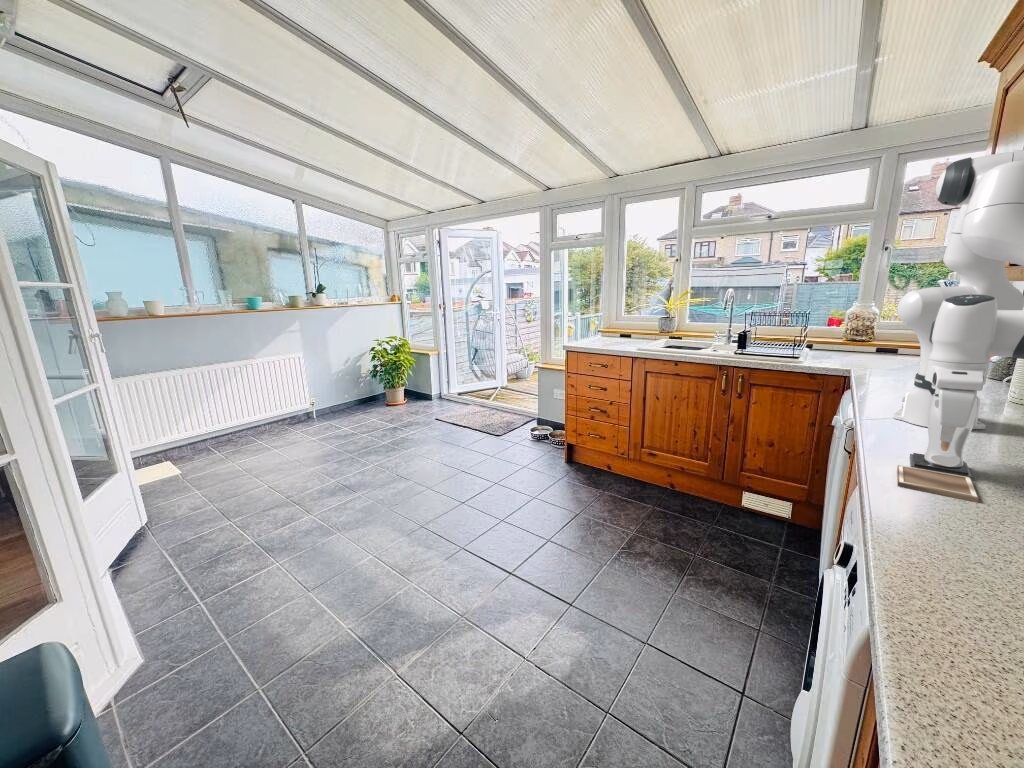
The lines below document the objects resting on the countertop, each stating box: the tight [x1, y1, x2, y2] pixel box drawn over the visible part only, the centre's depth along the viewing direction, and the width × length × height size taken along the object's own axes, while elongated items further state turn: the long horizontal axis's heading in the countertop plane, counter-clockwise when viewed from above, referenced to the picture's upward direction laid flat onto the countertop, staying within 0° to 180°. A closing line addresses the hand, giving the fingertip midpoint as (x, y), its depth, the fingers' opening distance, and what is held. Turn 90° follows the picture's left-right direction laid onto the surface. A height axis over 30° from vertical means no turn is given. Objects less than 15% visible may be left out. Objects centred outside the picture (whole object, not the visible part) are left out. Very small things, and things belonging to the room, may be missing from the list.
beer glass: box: [923, 393, 978, 468], centre depth 89 cm, size 7×7×15 cm
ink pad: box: [909, 452, 973, 480], centre depth 91 cm, size 9×9×2 cm
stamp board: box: [896, 464, 980, 503], centre depth 84 cm, size 11×11×1 cm
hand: (943, 436), depth 89 cm, fingers open, 6 cm apart
